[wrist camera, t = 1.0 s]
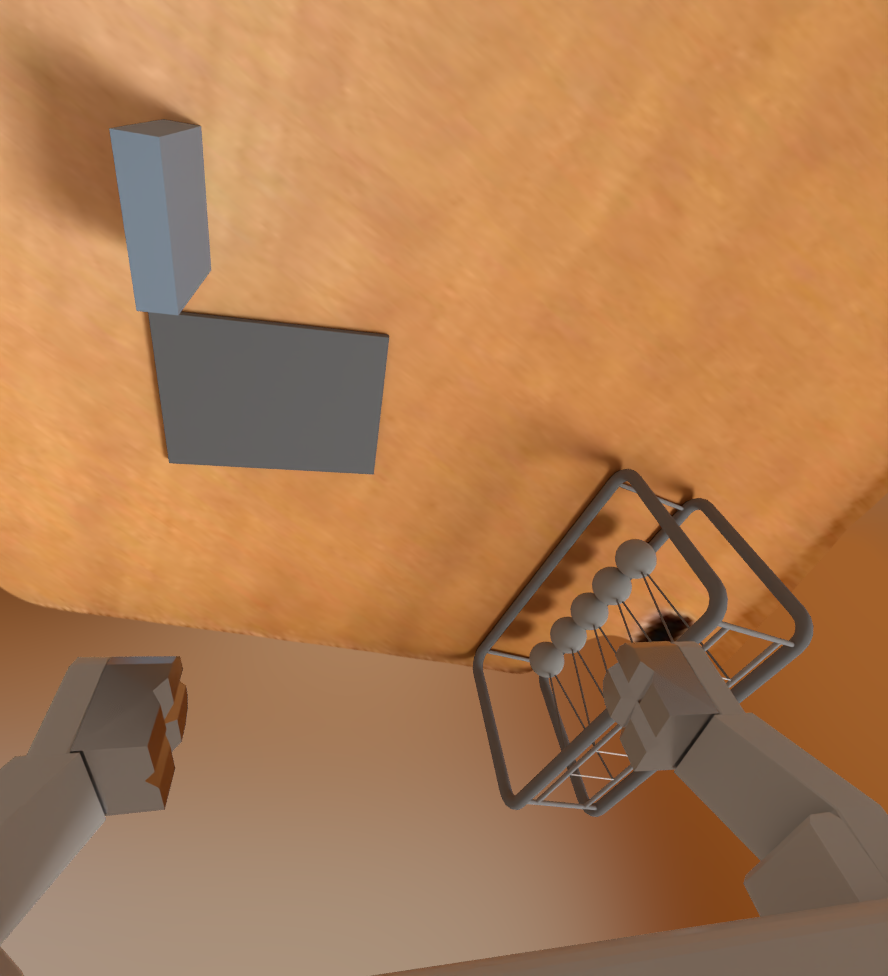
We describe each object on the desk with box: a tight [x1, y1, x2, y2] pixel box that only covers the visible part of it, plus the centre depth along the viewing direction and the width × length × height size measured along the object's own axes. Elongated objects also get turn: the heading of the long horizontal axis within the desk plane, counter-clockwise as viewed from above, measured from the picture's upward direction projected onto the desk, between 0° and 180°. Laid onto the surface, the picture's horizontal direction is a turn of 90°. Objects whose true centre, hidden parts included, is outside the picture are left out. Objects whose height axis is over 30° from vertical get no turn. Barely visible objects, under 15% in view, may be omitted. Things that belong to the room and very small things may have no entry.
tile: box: [109, 119, 211, 315], centre depth 30 cm, size 2×8×9 cm, turn 170°
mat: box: [148, 312, 389, 474], centre depth 42 cm, size 12×16×1 cm
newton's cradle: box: [473, 469, 813, 817], centre depth 52 cm, size 30×10×18 cm, turn 153°
